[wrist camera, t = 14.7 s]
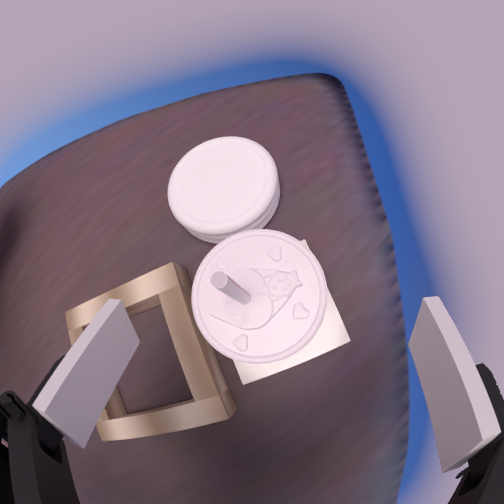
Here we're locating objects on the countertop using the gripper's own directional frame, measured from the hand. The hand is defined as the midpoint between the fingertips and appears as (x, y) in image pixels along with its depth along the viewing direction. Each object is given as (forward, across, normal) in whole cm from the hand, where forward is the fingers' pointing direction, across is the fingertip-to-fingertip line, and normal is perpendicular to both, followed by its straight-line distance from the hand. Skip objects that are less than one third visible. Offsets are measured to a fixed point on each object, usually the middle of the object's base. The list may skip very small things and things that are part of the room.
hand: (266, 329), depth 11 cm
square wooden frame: (+6, -12, -10) cm, 17 cm away
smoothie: (+9, 0, -6) cm, 11 cm away
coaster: (+17, -5, 0) cm, 18 cm away
